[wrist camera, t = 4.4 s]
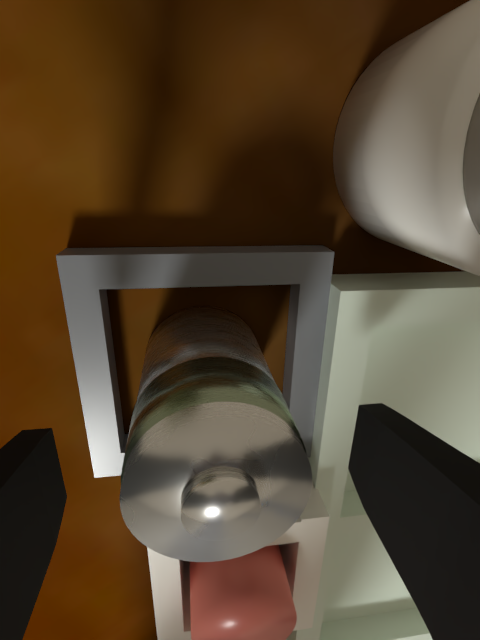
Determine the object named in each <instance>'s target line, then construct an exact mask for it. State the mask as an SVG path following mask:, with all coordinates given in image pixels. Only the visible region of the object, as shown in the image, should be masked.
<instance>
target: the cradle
mask: <svg viewBox="0 0 480 640" xmlns="http://www.w3.org/2000/svg"><path fill="white" fill-rule="evenodd" d="M56 259H57V265H58V270H59V276H60V282H61V288H62V293H63V299H64V305H65V311H66V316H67V322H68V328H69V334H70V339H71V345H72V351H73V357H74V362H75V368H76V374H77V380H78V385H79V391H80V397H81V403H82V408H83V414H84V420H85V426H86V431H87V437H88V443H89V449H90V454H91V460H92V466H93V472H94V477H95V478H97V477H107V476H118V475H121V473H122V466H123V461H124V455H125V450H126V445H127V440H128V435H129V434H124V426H123V418H122V410H121V402H120V394H119V386H118V378H117V370H116V362H115V354H114V346H113V338H112V330H111V322H110V314H109V306H108V298H107V290H106V289H136V288H174V287H212V286H250V285H288V284H291V287H290V300H289V314H288V327H287V341H286V354H285V368H284V381H283V394H282V395H283V397H284V400H285V402H286V404H287V406H288V409H289V411H290V413H291V415H292V418H293V420H294V422H295V424H296V427H297V429H298V431H299V433H300V436H301V438H302V440H303V443H304V446H305V449H306V454H307V457H310V456H311V448H312V439H313V431H314V422H315V414H316V405H317V397H318V388H319V380H320V371H321V363H322V354H323V346H324V337H325V329H326V320H327V312H328V303H329V295H330V286H331V278H332V269H333V261H334V251H332V250H330V249H329V248H327V247H325V246H323V245H302V246H211V247H119V248H66V249H64V250H63V251H62V252H60V253H59V254H57V255H56Z"/></svg>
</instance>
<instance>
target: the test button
mask: <svg viewBox="0 0 480 640" xmlns="http://www.w3.org/2000/svg"><path fill="white" fill-rule="evenodd" d="M189 569H190V614H191V640H286V639H287V638H288V636H289V635H290V634H291V633H292V631H293V630H294V628H295V625H296V621H297V614H296V610H295V606H294V602H293V598H292V595H291V591H290V587H289V583H288V579H287V575H286V571H285V567H284V564H283V560H282V556H281V552H280V548H279V545H271V546H265V547H263V548H261V549H259V550H257V551H254V552H252V553H249V554H247V555H244V556H241V557H237V558H233V559H229V560H223V561H215V562H191V561H189Z"/></svg>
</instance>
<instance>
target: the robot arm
mask: <svg viewBox="0 0 480 640" xmlns="http://www.w3.org/2000/svg"><path fill="white" fill-rule="evenodd" d="M348 470H349V472H350V475H351V478H352V480H353V483H354V486H355V488H356V491H357V493H358V496H359V498H360V501H361V503H362V505H363V508H364V510H365V512H366V514H367V516H368V518H369V519H370V521H371V523H372V525H373V527H374V529H375V531H376V533H377V534H378V536H379V538H380V540H381V542H382V544H383V546H384V548H385V549H386V551H387V553H388V555H389V557H390V559H391V560H392V562H393V564H394V566H395V568H396V570H397V571H398V573H399V575H400V577H401V579H402V581H403V583H404V584H405V586H406V588H407V590H408V592H409V594H410V595H411V597H412V599H413V601H414V603H415V605H416V607H417V609H418V611H419V613H420V615H421V617H422V619H423V621H424V623H425V625H426V627H427V629H428V631H429V633H430V635H431V637H432V639H433V640H480V463H479V462H477V461H475V460H474V459H472V458H470V457H469V456H467V455H465V454H464V453H462V452H461V451H459V450H457V449H456V448H454V447H452V446H451V445H449V444H448V443H446V442H445V441H443V440H441V439H440V438H438V437H437V436H435V435H433V434H432V433H430V432H429V431H427V430H426V429H424V428H422V427H421V426H419V425H418V424H416V423H415V422H413V421H411V420H410V419H408V418H407V417H405V416H403V415H402V414H400V413H398V412H397V411H395V410H393V409H392V408H390V407H388V406H386V405H385V404H383V403H376V404H363V405H359V407H358V413H357V419H356V425H355V430H354V436H353V442H352V448H351V453H350V459H349V465H348ZM66 498H67V495H66V490H65V486H64V481H63V477H62V472H61V468H60V463H59V459H58V454H57V449H56V445H55V440H54V436H53V431H52V428H47V429H34V430H22V431H21V432H20V433H19V434H17V435H16V436H15V437H14V438H12V439H11V440H10V441H9V442H8V443H7V444H5V445H4V446H3V447H2V448H1V449H0V640H22V639H23V636H24V633H25V630H26V628H27V625H28V622H29V619H30V616H31V614H32V611H33V608H34V605H35V602H36V600H37V597H38V594H39V591H40V588H41V586H42V583H43V580H44V577H45V574H46V571H47V569H48V566H49V563H50V560H51V557H52V554H53V551H54V548H55V545H56V542H57V538H58V534H59V529H60V525H61V521H62V517H63V512H64V507H65V503H66Z"/></svg>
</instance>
